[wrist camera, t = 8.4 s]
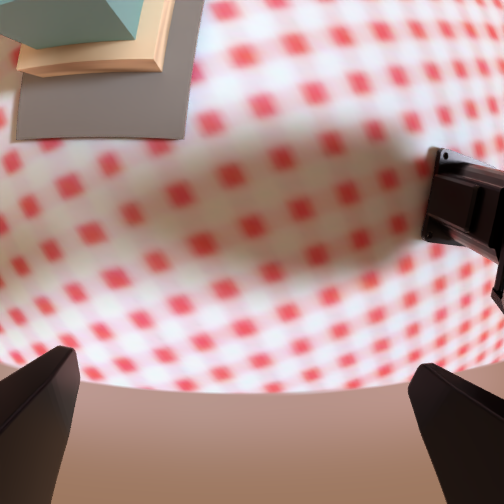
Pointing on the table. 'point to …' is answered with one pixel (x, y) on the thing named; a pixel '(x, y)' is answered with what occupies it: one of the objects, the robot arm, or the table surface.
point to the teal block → (69, 21)
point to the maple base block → (107, 49)
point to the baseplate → (117, 94)
